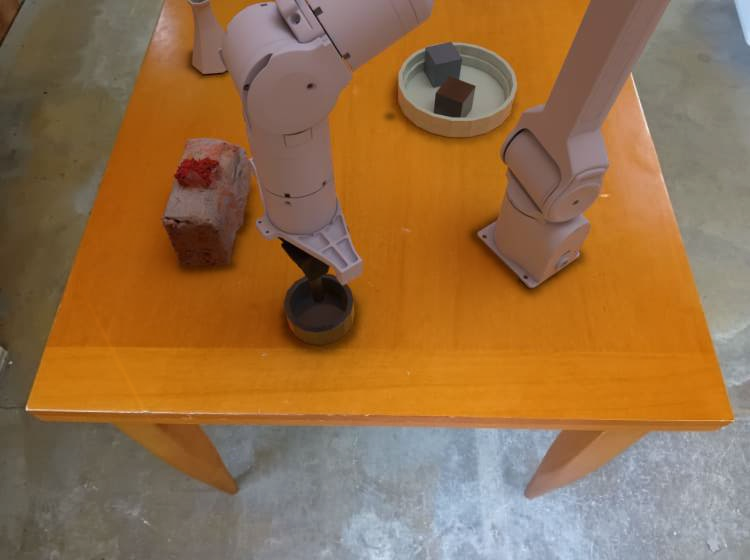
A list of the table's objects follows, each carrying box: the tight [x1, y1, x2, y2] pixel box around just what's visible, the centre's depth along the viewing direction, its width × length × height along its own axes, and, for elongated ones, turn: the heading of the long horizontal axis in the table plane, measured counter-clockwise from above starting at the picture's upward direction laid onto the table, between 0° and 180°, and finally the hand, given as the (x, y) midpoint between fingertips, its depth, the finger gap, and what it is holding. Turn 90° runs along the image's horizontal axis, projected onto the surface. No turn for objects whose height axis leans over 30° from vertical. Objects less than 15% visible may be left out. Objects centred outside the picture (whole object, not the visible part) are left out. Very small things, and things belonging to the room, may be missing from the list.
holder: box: [283, 273, 356, 346], centre depth 61 cm, size 7×7×4 cm
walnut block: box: [434, 76, 476, 118], centre depth 77 cm, size 4×4×4 cm
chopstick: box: [309, 277, 324, 303], centre depth 55 cm, size 1×1×9 cm
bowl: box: [397, 42, 518, 138], centre depth 80 cm, size 16×16×4 cm
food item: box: [160, 137, 252, 266], centre depth 66 cm, size 14×8×10 cm, turn 178°
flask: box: [186, 0, 228, 75], centre depth 82 cm, size 7×7×10 cm
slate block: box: [424, 41, 462, 88], centre depth 81 cm, size 4×4×4 cm
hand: (312, 268), depth 54 cm, fingers closed on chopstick, 1 cm apart
